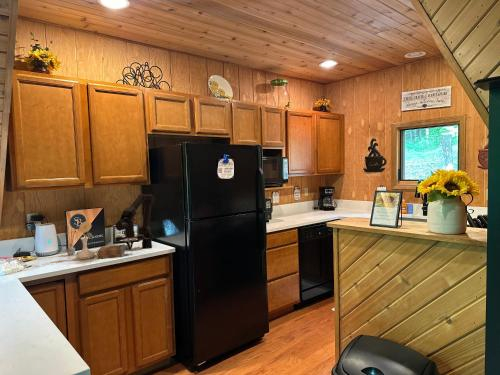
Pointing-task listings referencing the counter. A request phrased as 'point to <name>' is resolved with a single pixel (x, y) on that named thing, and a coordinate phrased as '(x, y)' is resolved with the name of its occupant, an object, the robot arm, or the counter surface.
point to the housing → (109, 251)
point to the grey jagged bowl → (122, 249)
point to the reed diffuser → (71, 249)
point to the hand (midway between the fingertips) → (130, 250)
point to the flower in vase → (85, 242)
